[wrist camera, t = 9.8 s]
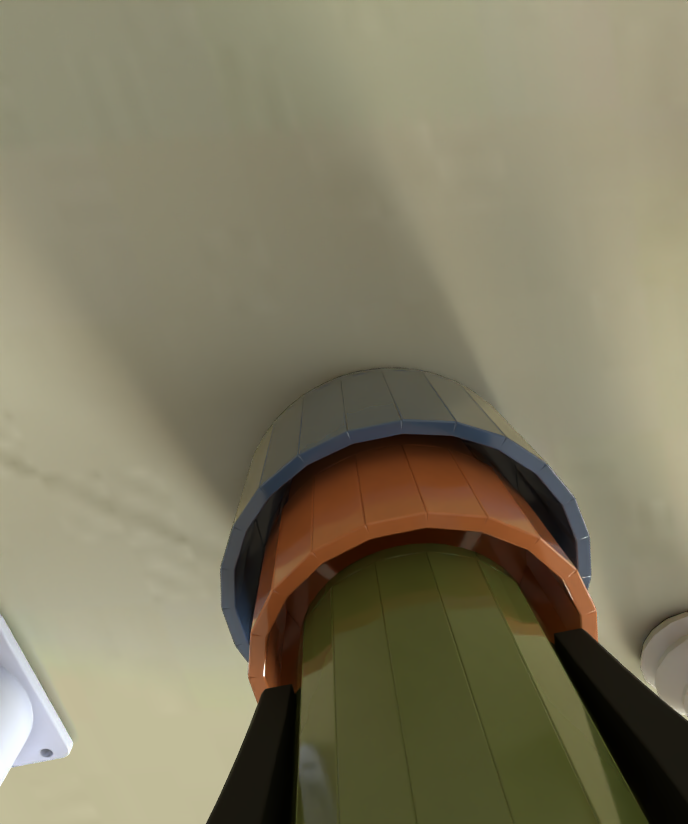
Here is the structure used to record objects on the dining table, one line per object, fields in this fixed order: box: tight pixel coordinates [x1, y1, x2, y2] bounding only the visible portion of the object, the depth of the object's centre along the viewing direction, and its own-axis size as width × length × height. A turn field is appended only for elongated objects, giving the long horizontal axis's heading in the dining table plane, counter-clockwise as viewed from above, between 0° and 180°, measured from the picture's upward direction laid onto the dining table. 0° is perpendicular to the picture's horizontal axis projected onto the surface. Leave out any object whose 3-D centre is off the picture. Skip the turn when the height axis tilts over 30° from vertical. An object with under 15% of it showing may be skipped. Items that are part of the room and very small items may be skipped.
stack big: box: [220, 368, 591, 663], centre depth 17 cm, size 10×10×5 cm
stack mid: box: [248, 434, 598, 703], centre depth 15 cm, size 8×8×8 cm
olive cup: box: [287, 543, 656, 824], centre depth 10 cm, size 6×6×6 cm
